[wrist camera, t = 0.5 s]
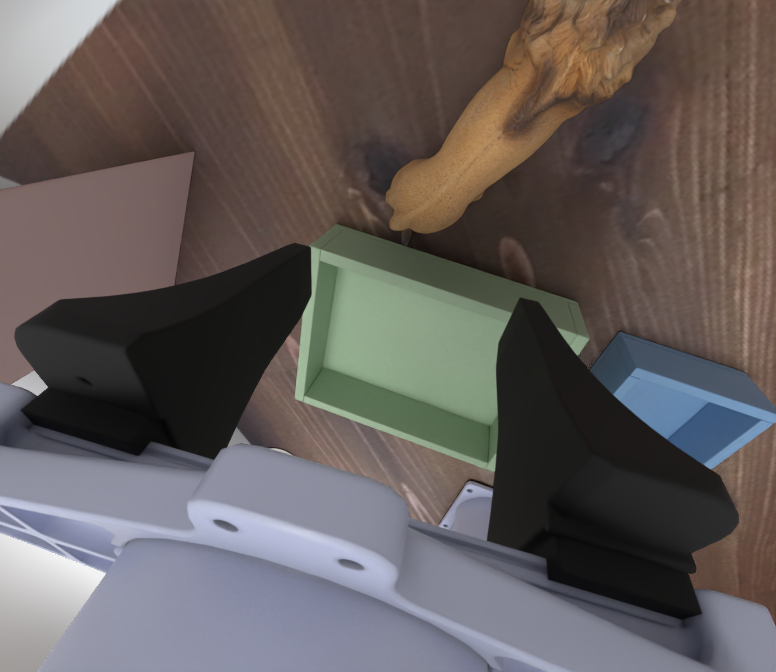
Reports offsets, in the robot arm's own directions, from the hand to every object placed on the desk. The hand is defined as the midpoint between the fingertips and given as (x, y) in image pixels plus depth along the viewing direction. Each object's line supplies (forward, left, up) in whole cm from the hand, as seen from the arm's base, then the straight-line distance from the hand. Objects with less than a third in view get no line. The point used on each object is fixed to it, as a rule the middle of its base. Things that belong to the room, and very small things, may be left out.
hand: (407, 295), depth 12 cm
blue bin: (-9, -16, -10) cm, 21 cm away
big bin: (-9, -1, -10) cm, 14 cm away
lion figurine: (+5, -1, -10) cm, 12 cm away
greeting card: (-7, +19, -10) cm, 22 cm away
